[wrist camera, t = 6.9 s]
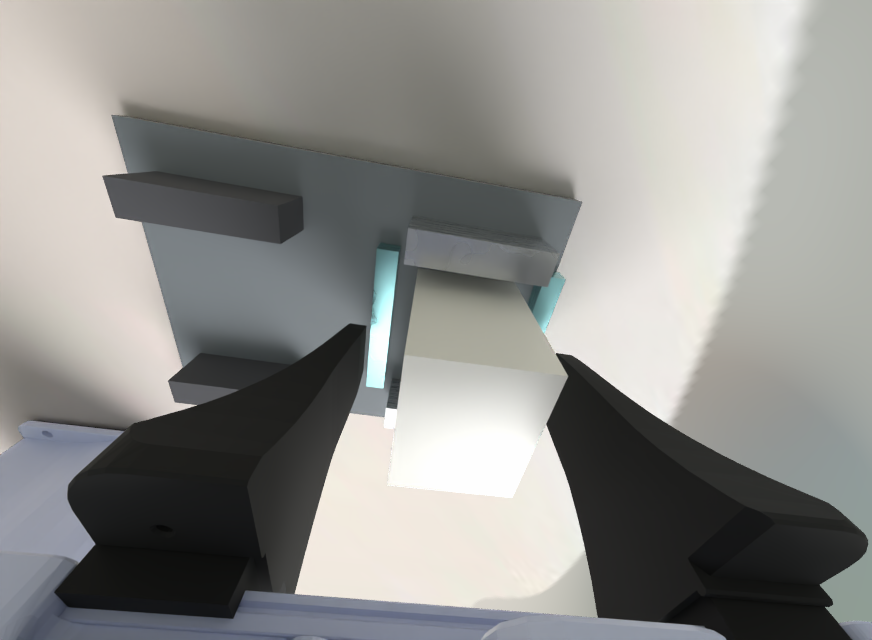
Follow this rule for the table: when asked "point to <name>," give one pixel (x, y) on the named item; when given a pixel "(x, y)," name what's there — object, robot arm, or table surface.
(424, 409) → the plug
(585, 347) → the table surface
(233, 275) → the panel
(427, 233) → the port
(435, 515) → the table surface
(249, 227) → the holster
